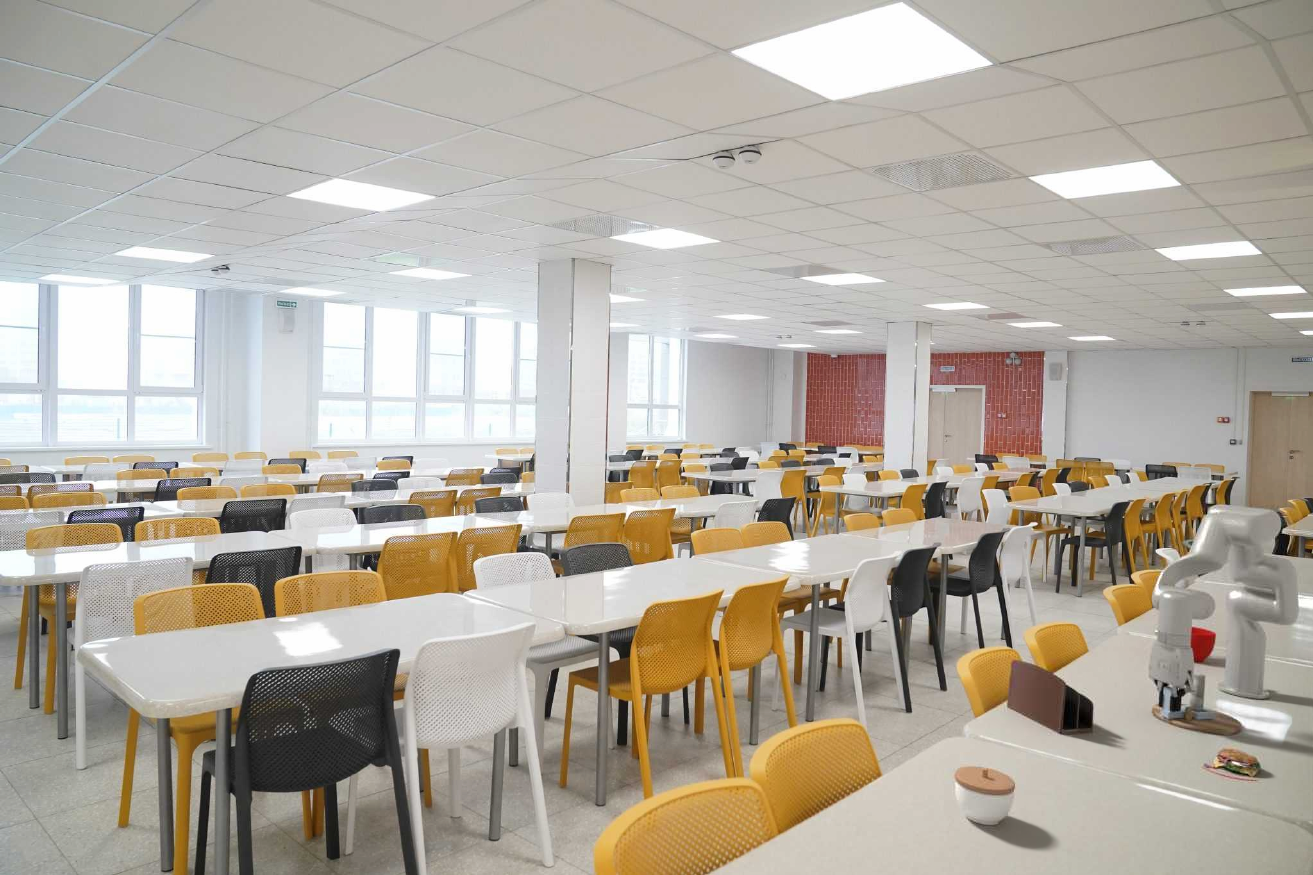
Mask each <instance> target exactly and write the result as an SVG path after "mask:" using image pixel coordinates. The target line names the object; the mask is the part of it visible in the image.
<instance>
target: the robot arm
mask: <svg viewBox="0 0 1313 875" xmlns="http://www.w3.org/2000/svg"><path fill="white" fill-rule="evenodd" d="M1198 526H1199V527H1198V529H1197V532H1196V534H1195V536H1194V539H1193V540H1192V544H1191V547H1190V548H1189V549H1190V550H1189V552H1188V553H1186V554H1184V555H1183V556H1181V557H1179V558H1177V559H1174V561H1172V562H1171V563H1169V564H1167V565H1166V566H1165V567H1164V568H1163V570H1161V572H1160V574H1159V576H1158V578H1157V580H1156V582H1155V585H1154V588H1153V591H1152V594H1151V602H1152V603H1151V604H1152V606H1153V608H1154V609H1155V610H1157V611H1158V619H1157V620H1158V621H1157V629H1156V630H1155V631H1154V634H1155V635H1156V640H1154V641H1153V643H1152V647H1151V651H1150V654H1149V655H1150V656H1149V662H1148V673H1147V674H1148V677H1149V679H1150V680H1151V681H1152V682H1154V684H1155V685H1156V690H1157V691H1158V694H1159V695H1158V704H1159V707H1163V689H1164V687H1170V685H1171V686H1172V695H1173V696H1170V707H1169V710H1170V711H1171V712H1177V711H1181V704H1182V701H1183V700H1182V698H1183V697H1185V695H1187V694H1188V693H1190V694H1191V692H1194V691H1195V689H1194V686H1193V681H1194V673H1195V662H1194V657H1193V651H1192V648H1190V647H1191V630H1192V627H1193V626H1192V625H1193V620H1198V621H1199V620H1201V621H1202V620H1207V619H1209V618H1210V617H1211V616H1212V615H1213V614H1214V613H1215V610H1216V601H1215V599H1214V597H1213V596H1212V595H1211V594H1209V593H1207V592H1205V591H1202V590H1197V589H1191V588H1186V587H1180V586H1175V585H1176V584H1177V583H1179V582H1180V581H1181V580H1184V579H1186V578H1189V577H1192V576H1194V577H1195V576H1198V575H1203V574H1209V573H1213V572H1217V571H1219V570H1221V569H1222V568H1224V565H1225V564H1226V559H1227V558H1228V559H1227V560H1228V572H1229V575H1230V578H1231V580H1232V581H1233V582H1235V583H1236V584H1240V585H1235V586H1233V587H1229V589H1228V590H1227V592H1226V594H1225V604H1226V605H1225V606H1226V607H1225V608H1226V613H1227V634H1226V635H1227V637H1226V651H1225V662H1224V663H1225V668H1224V678H1223V679H1224V681H1219V682H1218V684H1217V688H1218V689H1219V690H1220V691H1222V692H1224V693H1227V694H1229V695H1235V696H1237V697H1241V698H1242V697H1243V698H1247V699H1248V698H1249V699H1257V700H1259V699H1260V700H1262V699H1265V700H1266V699H1268V698H1269V697H1270V692H1269V691H1268V690H1266V689H1264V679H1265V668H1266V667H1265V666H1266V665H1265V664H1266V651H1267V648H1266V647H1267V634H1266V631H1265V630H1264V628H1263V626H1262V625H1261V623H1260V622H1263V623H1270V624H1273V625H1280V626H1292V625H1293V624H1295V623H1296V622H1297V620H1298V617H1299V613H1300V612H1299V611H1300V607H1299V592H1298V577H1297V570H1296V567H1295V565H1294V563H1293V562H1292V561H1291V560H1289V559H1286V558H1284V557H1278V556H1270V555H1266V554H1265V553H1264V550H1263V545H1264V544H1266V543H1269V542H1270V541H1273V540H1274V539H1275V538H1276V537H1277V536H1278V535H1279V534H1280V531H1281V528H1282V520H1281V517H1280V515H1279V513H1278V512H1276V511H1275V510H1272V509H1268V508H1261V507H1260V508H1259V507H1249V506H1242V505H1231V504H1215V505H1212V506H1210V507H1209V508H1208V510H1207V514H1205V515H1204V516H1203V517H1202V520H1201V522H1200V525H1198Z"/></svg>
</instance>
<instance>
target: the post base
mask: <svg viewBox="0 0 1313 875" xmlns="http://www.w3.org/2000/svg"><path fill="white" fill-rule="evenodd" d="M1193 686H1194V689H1195V691H1194V692H1190V699H1189V705H1190V708H1185V717H1183V718H1166V717H1164V716H1161V715H1160V713H1161V709H1162V707H1159V703H1156V704H1154V705H1152V707H1151V713H1153V714H1152V715H1153V716H1154V717H1155V718H1156V719H1158V720H1160V721H1161V720H1162V722H1164V723H1166V722H1167V723H1166V724H1169V725H1171V726H1174V727H1177V728H1181V729H1184V730H1188V731H1191V732H1192V731H1193V732H1198V733H1203V734H1211V735H1220V736H1224V735H1225V736H1229V735H1230V736H1231V735H1238V734H1240V733H1241V732H1242V730H1243V729H1242V728H1243V724H1242V723H1241V721H1239V720H1238V719H1237V718H1235V717H1233V716H1231V715H1228V714H1226V713H1223V712H1220V711H1218V710H1214V709H1210V708H1206V707H1204V702H1205V701H1204V700H1205V688H1206V687H1205V686H1206V675H1205V674H1202V673H1198V672H1194V681H1193ZM1185 705H1187V704H1185V703H1181V706H1185ZM1203 708H1205V709H1207V710H1210V711H1212V712H1215V713H1216V714H1215V718H1214V719H1195V718H1192V710H1193V711H1195V712H1203Z"/></svg>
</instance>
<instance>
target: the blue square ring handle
mask: <svg viewBox="0 0 1313 875" xmlns="http://www.w3.org/2000/svg"><path fill="white" fill-rule="evenodd" d="M1172 688H1173V686H1169V687H1164V689H1163V707H1162V709H1161V713H1160V715H1161V716H1164V717H1166V718H1183V717H1185V708H1190V704H1186V705H1185V706H1181V711H1177V712H1171V711H1170V710H1169V707H1170V696H1173V695H1172ZM1205 708H1206V707H1203V712H1195V711H1193V710H1192V718H1195V719H1214V718H1215V714H1216V713H1215V712H1212V711H1210V710H1207V709H1208V708H1207V709H1205Z"/></svg>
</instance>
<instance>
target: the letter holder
mask: <svg viewBox="0 0 1313 875" xmlns="http://www.w3.org/2000/svg"><path fill="white" fill-rule="evenodd" d="M1009 672H1010V673H1009V680H1008V681H1009V682H1008V691H1007V692H1008V694H1007V702H1006V706H1007V708H1008V709H1011V710H1013V711H1015V712H1016V713H1019V714H1020V715H1022V716H1024V717H1026V718H1028V719H1030V720H1031V721H1034V722H1036V723H1038V724H1040V725H1042V726H1043V727H1046V728H1047V729H1050V730H1052V731H1053V732H1054V733H1057V734H1059V735H1068V734H1069V735H1072V734H1083V733H1084V734H1085V733H1093V730H1094V708H1095V707H1094V703H1093V701H1092V700H1091V699H1090V698H1088V696H1086V695H1084V694H1083V693H1080V692H1078V691H1077V690H1076V689H1074V688H1073V687H1072V686H1070V685H1068V684H1067V683H1066V681H1065V680H1064V679H1062V678H1060V677H1059V676H1058V675H1056V674H1054V673H1052V672H1051V671H1049V670H1047V669H1045V668H1043V667H1040V666H1038V665H1036V664H1032V663H1029V662H1027V661H1022V660H1018V659H1012V660H1011V663H1010V670H1009Z"/></svg>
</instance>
